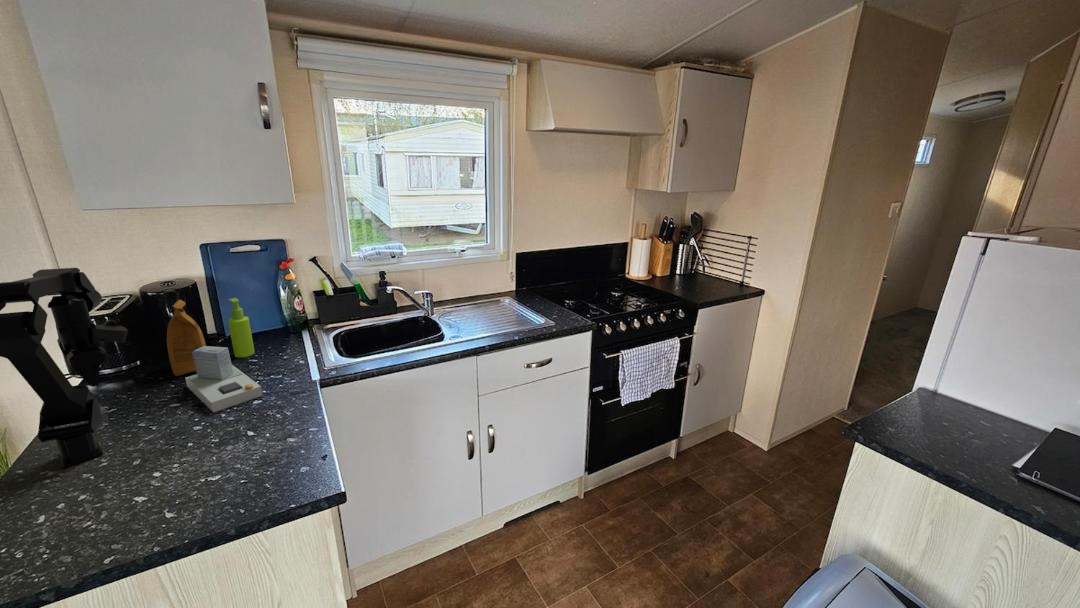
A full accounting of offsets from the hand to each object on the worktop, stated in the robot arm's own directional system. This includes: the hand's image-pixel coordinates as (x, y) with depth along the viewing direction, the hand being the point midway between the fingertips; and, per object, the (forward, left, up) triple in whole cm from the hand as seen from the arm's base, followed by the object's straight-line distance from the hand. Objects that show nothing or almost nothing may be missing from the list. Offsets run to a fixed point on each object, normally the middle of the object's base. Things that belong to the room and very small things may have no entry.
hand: (91, 379), depth 107 cm
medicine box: (+1, -25, -9) cm, 26 cm away
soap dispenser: (+21, -39, -12) cm, 46 cm away
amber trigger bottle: (+21, -24, -12) cm, 34 cm away
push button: (-10, -25, -12) cm, 29 cm away
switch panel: (-4, -25, -12) cm, 28 cm away
